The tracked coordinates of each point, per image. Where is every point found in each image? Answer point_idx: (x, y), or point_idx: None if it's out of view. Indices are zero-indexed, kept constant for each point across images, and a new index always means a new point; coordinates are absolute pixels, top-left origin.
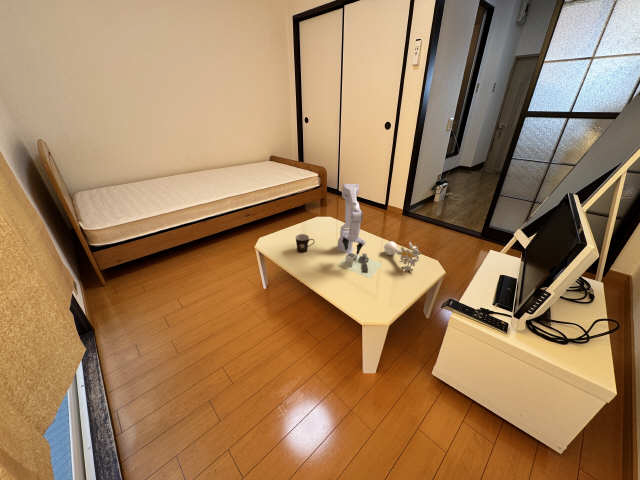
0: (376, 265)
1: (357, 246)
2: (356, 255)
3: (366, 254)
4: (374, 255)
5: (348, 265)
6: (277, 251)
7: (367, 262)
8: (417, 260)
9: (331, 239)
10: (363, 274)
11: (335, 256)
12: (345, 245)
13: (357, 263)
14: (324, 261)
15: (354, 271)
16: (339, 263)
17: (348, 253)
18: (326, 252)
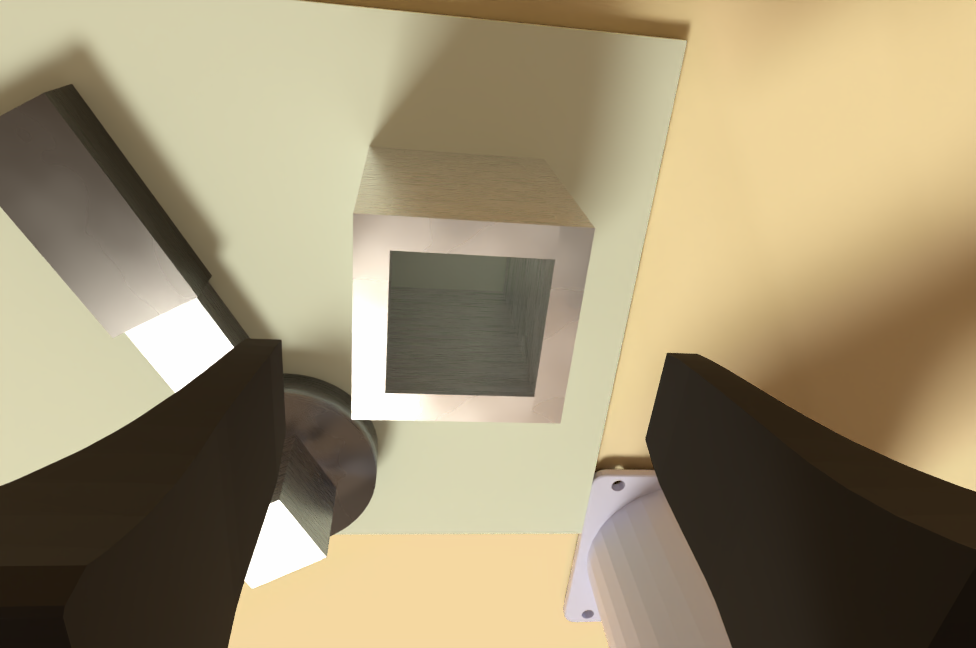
0: (15, 441)
1: (34, 548)
2: (354, 392)
3: None
4: (231, 644)
5: (460, 149)
6: None
7: None
8: None
9: None
10: (7, 5)
11: (792, 303)
12: (796, 446)
13: (338, 312)
14: (967, 24)
15: (241, 2)
16: (655, 113)
17: (571, 361)
18: (973, 325)
